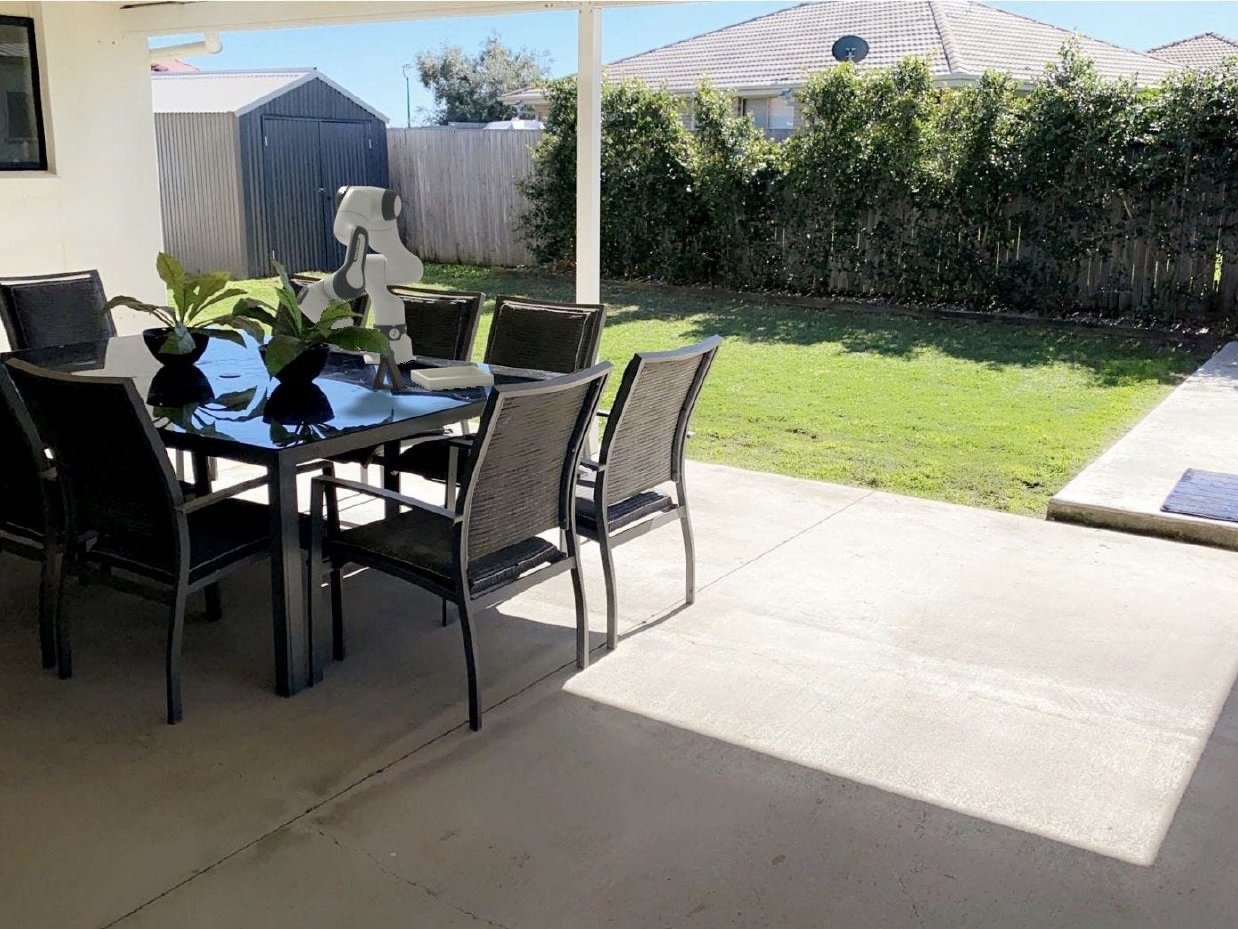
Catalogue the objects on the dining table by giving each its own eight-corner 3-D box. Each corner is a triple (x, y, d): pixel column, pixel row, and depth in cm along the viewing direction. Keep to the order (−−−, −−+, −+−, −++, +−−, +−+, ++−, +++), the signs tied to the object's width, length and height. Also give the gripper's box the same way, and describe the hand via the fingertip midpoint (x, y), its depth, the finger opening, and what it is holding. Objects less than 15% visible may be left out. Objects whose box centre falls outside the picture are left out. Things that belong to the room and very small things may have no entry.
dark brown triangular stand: (404, 385, 380) (403, 349, 377) (398, 389, 374) (397, 352, 371) (378, 385, 381) (376, 348, 378) (372, 388, 375) (370, 351, 372)
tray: (411, 380, 389) (410, 370, 388) (473, 375, 398) (473, 365, 397) (429, 391, 372) (428, 380, 371) (493, 385, 381) (493, 375, 380)
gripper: (354, 323, 358) (387, 353, 364) (339, 315, 375) (370, 343, 382) (341, 339, 357) (373, 368, 364) (326, 330, 375) (358, 358, 381)
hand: (372, 355), depth 373 cm, fingers open, 8 cm apart
